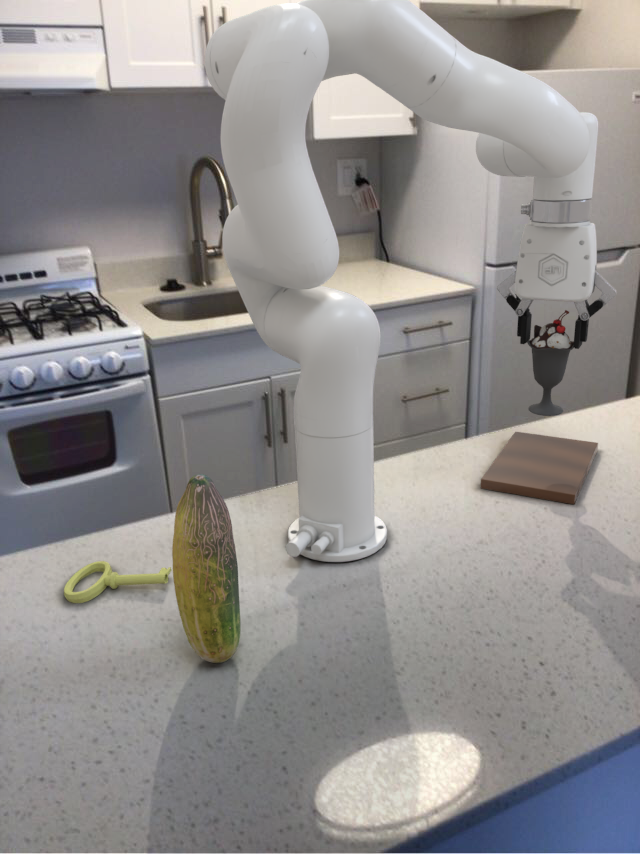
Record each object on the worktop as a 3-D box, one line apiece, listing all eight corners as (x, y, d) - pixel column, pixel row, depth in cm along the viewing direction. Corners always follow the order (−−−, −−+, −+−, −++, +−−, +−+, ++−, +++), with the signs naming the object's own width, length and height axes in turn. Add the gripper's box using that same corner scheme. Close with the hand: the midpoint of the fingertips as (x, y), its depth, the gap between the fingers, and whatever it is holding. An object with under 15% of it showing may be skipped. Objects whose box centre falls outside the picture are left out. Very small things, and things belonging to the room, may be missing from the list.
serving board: (574, 504, 103) (575, 494, 102) (480, 488, 108) (480, 478, 108) (597, 451, 119) (598, 442, 118) (514, 439, 125) (515, 431, 124)
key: (172, 592, 86) (170, 575, 86) (61, 607, 85) (58, 590, 84) (173, 560, 93) (170, 544, 92) (69, 573, 91) (66, 558, 90)
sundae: (572, 419, 107) (582, 314, 101) (523, 417, 108) (530, 313, 102) (567, 403, 113) (577, 303, 107) (521, 401, 114) (528, 303, 108)
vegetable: (174, 672, 73) (150, 485, 66) (195, 633, 79) (174, 457, 72) (234, 677, 72) (216, 488, 65) (251, 637, 78) (236, 459, 71)
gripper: (488, 215, 101) (483, 345, 107) (627, 217, 93) (612, 356, 100) (503, 209, 107) (497, 333, 114) (634, 210, 99) (619, 342, 106)
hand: (551, 343), depth 107 cm, fingers closed on sundae, 6 cm apart
